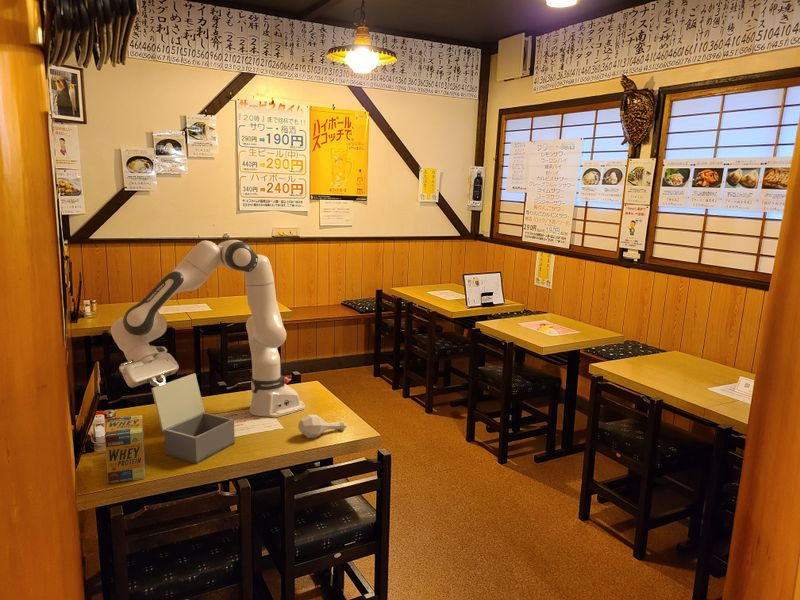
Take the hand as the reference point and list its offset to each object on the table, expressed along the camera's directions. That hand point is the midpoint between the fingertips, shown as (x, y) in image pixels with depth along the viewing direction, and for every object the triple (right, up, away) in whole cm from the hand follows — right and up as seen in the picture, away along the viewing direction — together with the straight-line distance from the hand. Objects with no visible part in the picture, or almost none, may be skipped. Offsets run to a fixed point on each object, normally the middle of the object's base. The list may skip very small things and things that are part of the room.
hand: (163, 388), depth 205 cm
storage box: (+14, -20, -4) cm, 25 cm away
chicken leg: (+55, -19, +12) cm, 59 cm away
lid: (+7, -4, -3) cm, 8 cm away
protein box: (-3, -23, -20) cm, 31 cm away
